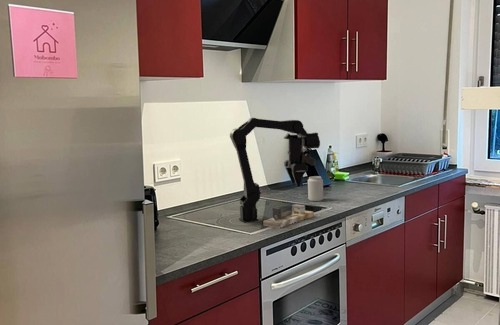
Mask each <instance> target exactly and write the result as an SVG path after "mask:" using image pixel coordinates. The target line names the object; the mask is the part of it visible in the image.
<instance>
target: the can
mask: <svg viewBox="0 0 500 325" xmlns="http://www.w3.org/2000/svg"><path fill="white" fill-rule="evenodd" d="M307 194H308V195H307V196H308V200H309V201H310V202H313V201H318V202H322V201H323V200H324V179H323V178H322V176H320V175H319V176H318V175H314V176H309V177H308V179H307Z"/></svg>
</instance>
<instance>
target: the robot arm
mask: <svg viewBox="0 0 500 325" xmlns="http://www.w3.org/2000/svg"><path fill="white" fill-rule="evenodd" d="M256 128H259V129H260V128H261V129H262V128H263V129H273V130H280V131H284V132H287V134H286V135H285V136H283V140H288V151H287V154H288V159H286V160H285V161H284V162H283V164H284V167H285V170H286V172H287V174H288V178H289V179H290V182H291V184H294V185H295V184H296V187H298V188H299V187H301V183H302V179H303V176H304V174H306V173H307V172H308V171H309V166H308V165H310V166H314V165H315V162H316V160H317V159H316V158H314V157H311V154H310V153H305V152H304V151H303V147H304V149H306V150H307V149H308V150H309V149H310V150H311V149H319V148H320V146H321V140H320V137H319V133H318V132H312V133H309V132H307V130H306V129H305V128H304V124H303V122H302V121H301V120H298V119H288V120H274V119H262V118H257V117H250V118H248V120H246V121H245V122H244V123H243V124H241V125H240V126H239V127H237V128H233V129H232V130H231V131H230V133H229V138H230V140H231V143H232V145H233V147H234V148H235V151H236V155H237V157H238V163H239V167H240V171H241V175H242V179H243V195H242V196H241V198H240V199H239V200H238V201H239V203H240V205H239V215H240V216H239V218H238V220H239V221H241V222H243V223H249V222H255V221H259V218H258V208H257V203H258V202H259V200H260V199H261V195H262V193H261V190H260V185H259V184H258V183H257V182H255V181H254V178H253V174H252V170H251V165H250V161H249V156H248V151H247V136H248V135H249V134H250V133H251V132H252V131H253V130H254V129H256ZM307 164H308V165H307Z"/></svg>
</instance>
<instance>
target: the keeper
mask: <svg viewBox="0 0 500 325" xmlns="http://www.w3.org/2000/svg"><path fill="white" fill-rule="evenodd" d="M298 210H299V214H304V213H305V211H306V205H305V204H297V203H295V204H292V205H291V211H292V213H297V212H298Z"/></svg>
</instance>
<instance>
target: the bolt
mask: <svg viewBox="0 0 500 325" xmlns="http://www.w3.org/2000/svg"><path fill="white" fill-rule="evenodd" d="M290 215H292V210H288V211H285V212H282V208H281V207H275V206H274V207H272V218H274V219H275V220H278V219H281V218H284V217H287V216H290Z"/></svg>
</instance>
